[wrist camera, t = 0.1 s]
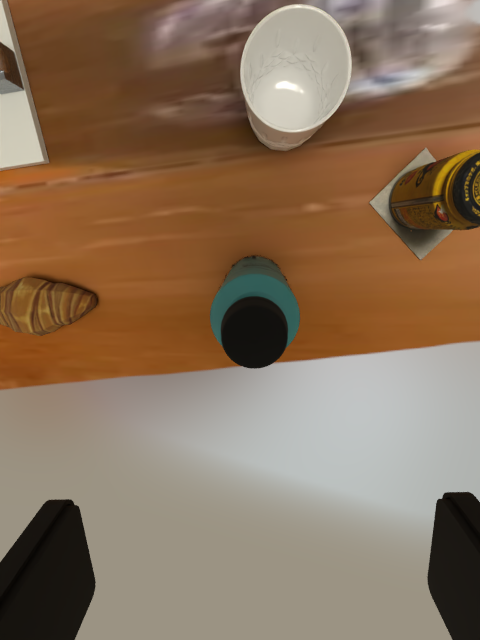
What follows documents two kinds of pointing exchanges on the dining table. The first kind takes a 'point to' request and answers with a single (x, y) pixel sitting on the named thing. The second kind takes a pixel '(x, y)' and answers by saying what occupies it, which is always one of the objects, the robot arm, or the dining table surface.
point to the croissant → (42, 305)
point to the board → (18, 111)
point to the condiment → (432, 199)
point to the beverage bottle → (254, 313)
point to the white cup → (294, 74)
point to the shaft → (9, 71)
